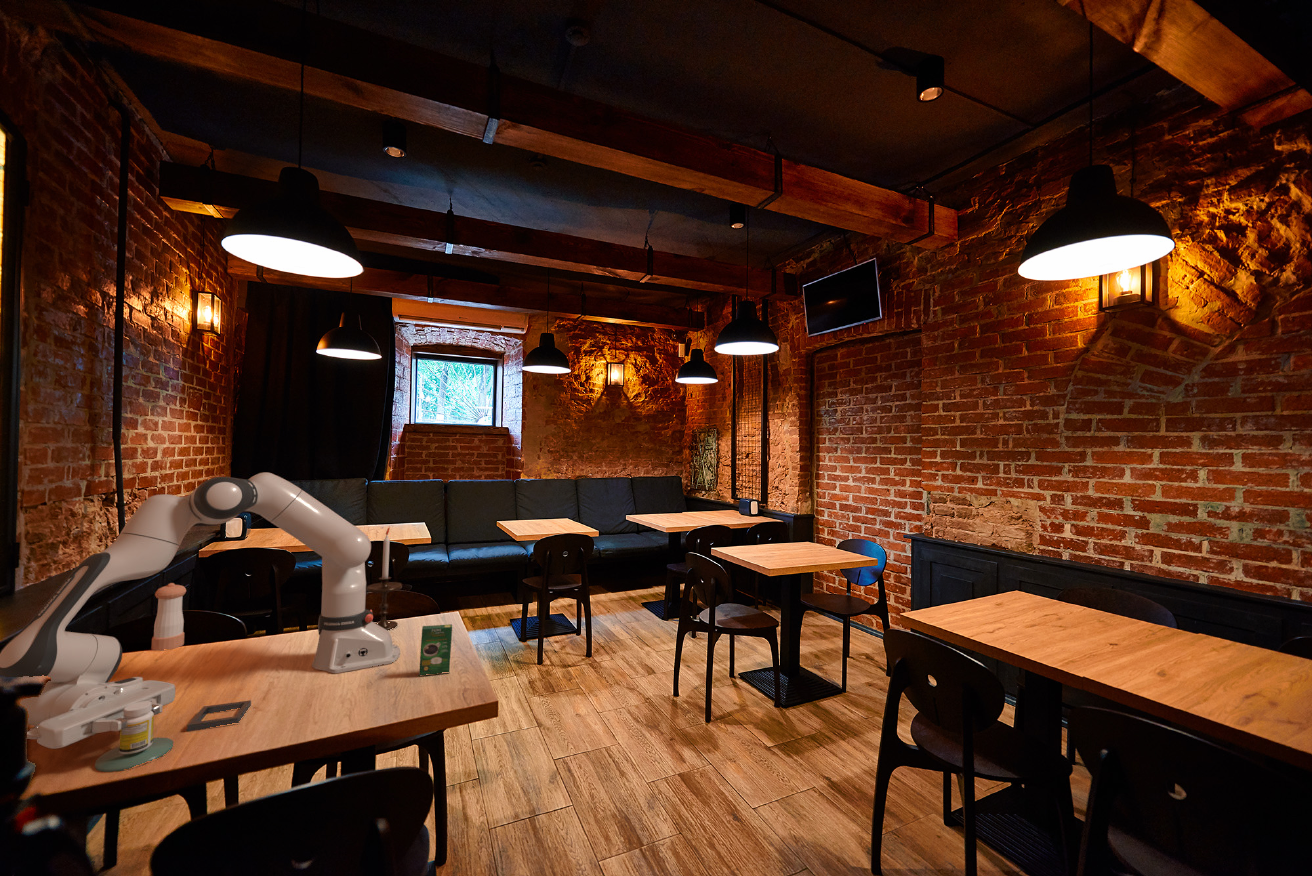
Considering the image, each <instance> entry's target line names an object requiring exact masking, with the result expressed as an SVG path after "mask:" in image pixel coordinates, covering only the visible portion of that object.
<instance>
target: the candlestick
mask: <svg viewBox="0 0 1312 876" xmlns="http://www.w3.org/2000/svg"><path fill="white" fill-rule="evenodd" d="M390 528H391V527H390V525H389V526H388V528H387V530H386V533H385V538H384V539H383V545H382V546H383V549H382V569H381V570H382V572H381V573H382V574H381V577H379V578H378V580H381V582H377V583H376V582H375V583H372V584H369V585H366V592H369V593H374V594H375V593H376V594H378V593H379V594H381V603H380V604H379V606H378V607H379V609H380V612H379V615H380V616H381V617H380V618H381V619H380V620H379V621H376V622H375V623H376V624H377V623H378V624H377V625H379V626H381V627H382V628H384V629H386V630H389V631H391V630H390V629H392V628H395V627H396V626H397V627H398V625H399V624H398V622H397V621H396V620H395V621H393V620H387V618H386V616H387V614H388V611H387V609H388V607H389V603H387V594H388V593H390V592H395V591H399V590H401V589H402V587H403V583H401V582H399V581H397V582H396V581H389V580H391V579H392V577H391V576H389V566H390V565H389V564H390V563H389V562H390V542H391V541H390V538H389V536H388V535H389V532H390V530H391V529H390ZM388 622H390V623H388ZM397 627H396V628H397ZM396 628H395V629H396ZM392 630H393V629H392Z"/></svg>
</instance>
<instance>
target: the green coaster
mask: <svg viewBox="0 0 1312 876" xmlns="http://www.w3.org/2000/svg"><path fill="white" fill-rule="evenodd" d="M172 747H173V748H174V740H172V739H171V738H169V737H161V736H160V737H153V742H152V745H151V746H149V747H148V748H147V749H145V750H143V751H140V752H137V753H133V754H121V753H120V752H119V746H117V747H115V748H113V749H111V750H108V751H107V752H106V751H105V753H103V754H101V755H100V756H99V757H98V758H97V759H96V761H95V764H94V768H95V770H97V771H99V772H103V773H114V771H116V772H122V771H125V770H124V769H128V770H130V769H129V768H132V767H134V766H136V765H140V764H142V763H145V762H147V761H152V760H153V759H157V758H159V757H161V756H162V757H164V756H165V755H164V754H166V753H167V752H168V751H169V750H170V751H172V749H173V748H172ZM170 751H169V752H170ZM169 752H168V753H169ZM168 753H167V754H168ZM167 754H166V755H167ZM163 755H164V756H163ZM162 757H161V758H162ZM159 759H160V758H159ZM157 760H158V759H157ZM132 769H133V768H132Z"/></svg>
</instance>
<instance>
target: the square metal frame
mask: <svg viewBox="0 0 1312 876" xmlns="http://www.w3.org/2000/svg"><path fill="white" fill-rule="evenodd" d="M250 706H252V700H251V699H250V700H241V701H235V702H227V703H218V704H213V705H204V706H203V707H202V708H201V709H200V710H199V711H198V712H197V713H196V714H195V715H194V717H193V718H192V719H191V720H190V721H189V722H188V724H187V725H186V732H187V733H188V732H195V731H201V729H202V730H207V729H206V728H209V729H211V728H210V727H216V726H220V725H227V724H232V723H240V722H241V721H242V720H241V718H242V717H243V716H244V717H245V715H246V714H247V712H248V711H249V710H248V708H249V707H250ZM237 708H240V709H239V710H238V711H237V713H236V714H235V715H234V716H229V717H222V718H214V719H208V720H207V719H206V720H203V719H204V718H205V717H206V714H207V715H208V713H210V714H215V713H214V712H217V713H221V712H220V711H224V712H227V711H226V710H231V709H237ZM250 708H251V707H250ZM250 708H249V709H250ZM247 710H248V711H247ZM246 711H247V712H246ZM245 713H246V714H245ZM244 714H245V715H244ZM244 717H243V718H244ZM243 718H242V719H243ZM240 720H241V721H240ZM239 721H240V722H239ZM216 728H217V727H216Z"/></svg>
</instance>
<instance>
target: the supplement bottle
mask: <svg viewBox="0 0 1312 876" xmlns="http://www.w3.org/2000/svg"><path fill="white" fill-rule="evenodd" d="M151 710H152V702H150V701H142V702H137V703H133V704H130V705H128V706H126V707H125V708H124V713H123V716H124V718H125V719H127V723H126V724H127V727H126V728H124V729H121V730H119V744H118V745H119V746H118V747H119V752H120V753H121V754H133V753H137V752H140V751H143V750H145V749H147V748H148V747H149V746H151V745H152V742H153V738H154V719H155V715H154V713H153V712H152V711H151ZM124 718H123V719H124Z"/></svg>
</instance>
